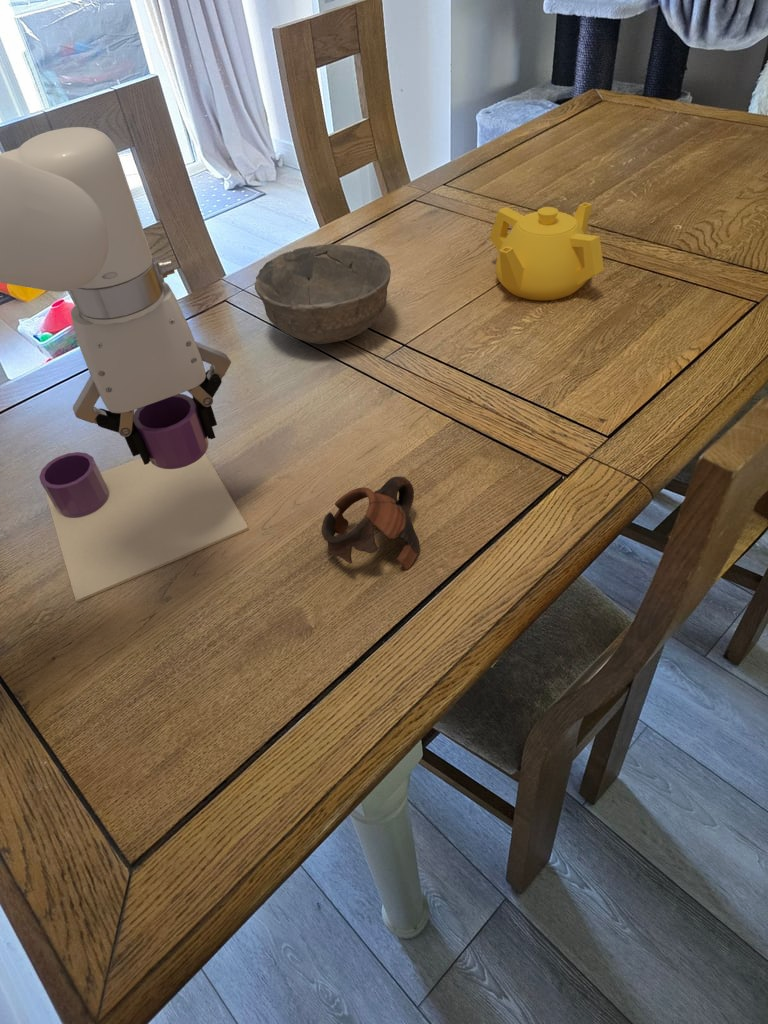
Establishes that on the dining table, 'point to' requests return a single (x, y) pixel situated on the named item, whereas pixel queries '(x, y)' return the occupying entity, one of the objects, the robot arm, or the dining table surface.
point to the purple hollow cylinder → (172, 432)
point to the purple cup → (74, 484)
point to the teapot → (545, 252)
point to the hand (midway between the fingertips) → (176, 443)
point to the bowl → (324, 291)
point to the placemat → (145, 523)
